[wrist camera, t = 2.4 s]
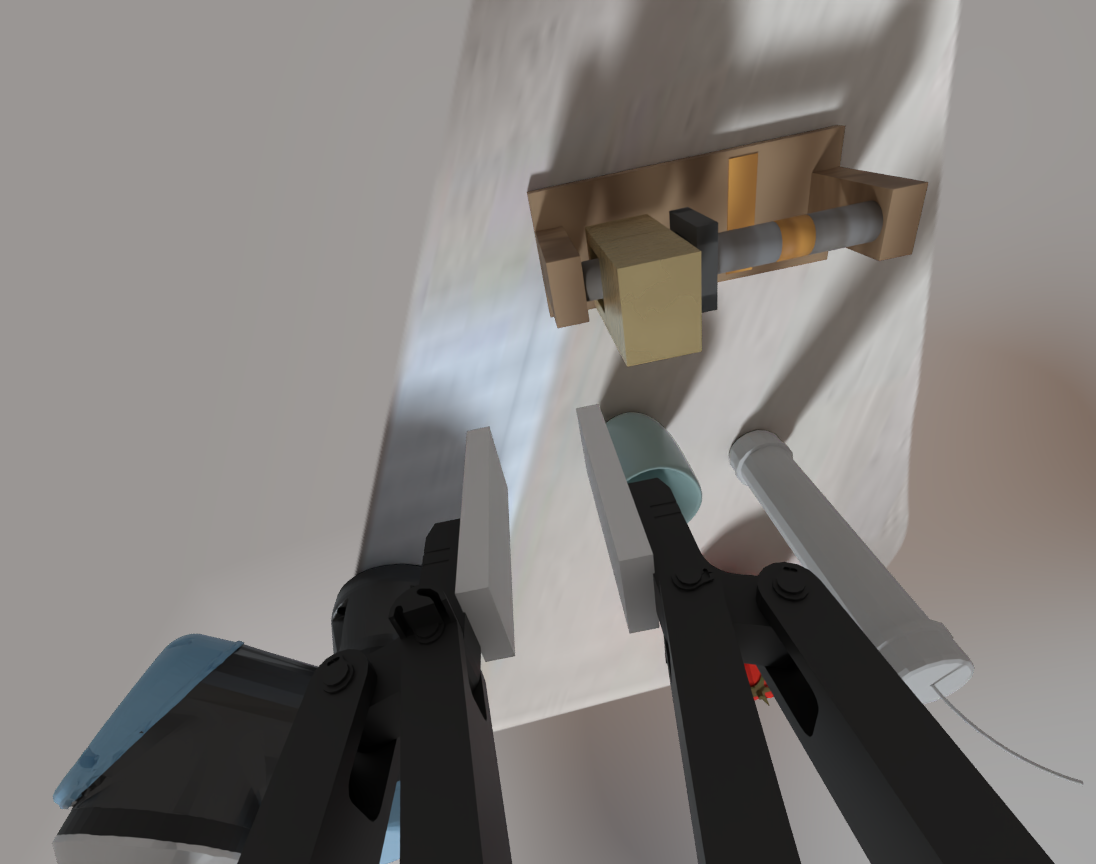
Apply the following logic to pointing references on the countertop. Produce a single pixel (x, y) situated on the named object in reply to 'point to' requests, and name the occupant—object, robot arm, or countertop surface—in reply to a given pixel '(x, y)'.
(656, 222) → the sleeve
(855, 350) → the countertop surface
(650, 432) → the cup
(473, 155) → the countertop surface
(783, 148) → the rail
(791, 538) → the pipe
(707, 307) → the dark grey square ring
